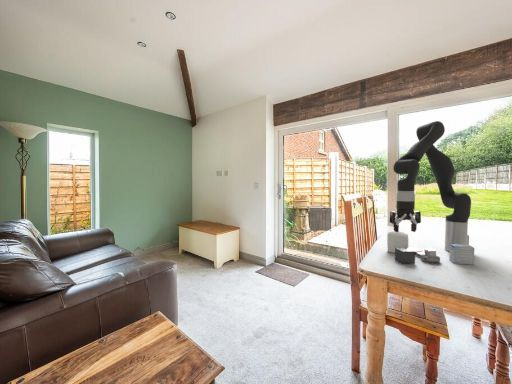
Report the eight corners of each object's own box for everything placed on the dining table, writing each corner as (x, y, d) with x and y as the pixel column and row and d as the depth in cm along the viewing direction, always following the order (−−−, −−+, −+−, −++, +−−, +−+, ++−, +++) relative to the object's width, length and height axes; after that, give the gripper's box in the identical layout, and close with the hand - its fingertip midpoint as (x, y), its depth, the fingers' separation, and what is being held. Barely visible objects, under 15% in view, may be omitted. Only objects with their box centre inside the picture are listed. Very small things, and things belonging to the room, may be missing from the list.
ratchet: (416, 251, 124) (416, 241, 124) (444, 263, 106) (444, 251, 106) (403, 251, 124) (403, 241, 124) (428, 264, 106) (428, 252, 106)
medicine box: (468, 261, 108) (469, 244, 107) (474, 265, 103) (474, 247, 103) (449, 260, 110) (449, 243, 110) (453, 263, 106) (454, 246, 105)
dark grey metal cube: (406, 259, 113) (406, 247, 112) (414, 263, 107) (415, 251, 106) (395, 259, 113) (395, 247, 112) (402, 264, 107) (403, 251, 106)
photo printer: (386, 251, 125) (386, 230, 124) (388, 249, 128) (389, 229, 127) (406, 256, 117) (407, 233, 116) (409, 254, 120) (409, 232, 119)
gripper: (414, 198, 112) (413, 229, 113) (386, 199, 112) (386, 230, 113) (425, 200, 104) (424, 233, 105) (396, 201, 104) (395, 233, 105)
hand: (404, 231), depth 109 cm, fingers open, 8 cm apart
